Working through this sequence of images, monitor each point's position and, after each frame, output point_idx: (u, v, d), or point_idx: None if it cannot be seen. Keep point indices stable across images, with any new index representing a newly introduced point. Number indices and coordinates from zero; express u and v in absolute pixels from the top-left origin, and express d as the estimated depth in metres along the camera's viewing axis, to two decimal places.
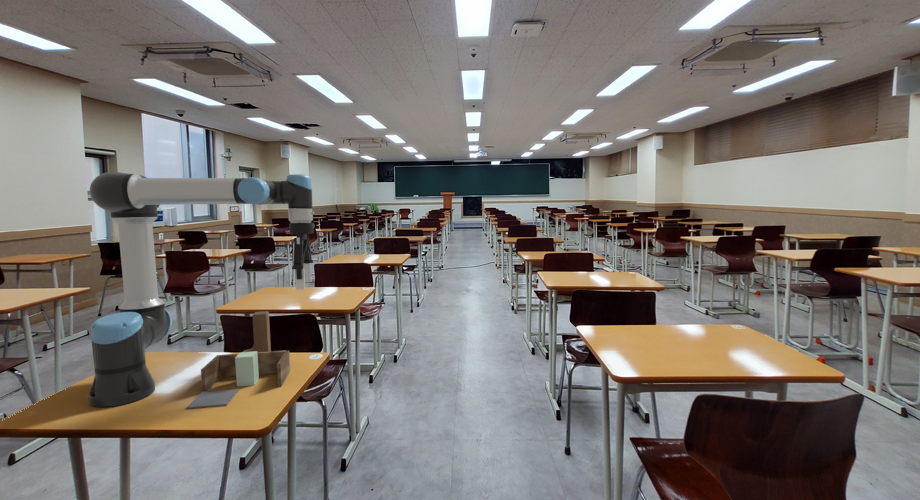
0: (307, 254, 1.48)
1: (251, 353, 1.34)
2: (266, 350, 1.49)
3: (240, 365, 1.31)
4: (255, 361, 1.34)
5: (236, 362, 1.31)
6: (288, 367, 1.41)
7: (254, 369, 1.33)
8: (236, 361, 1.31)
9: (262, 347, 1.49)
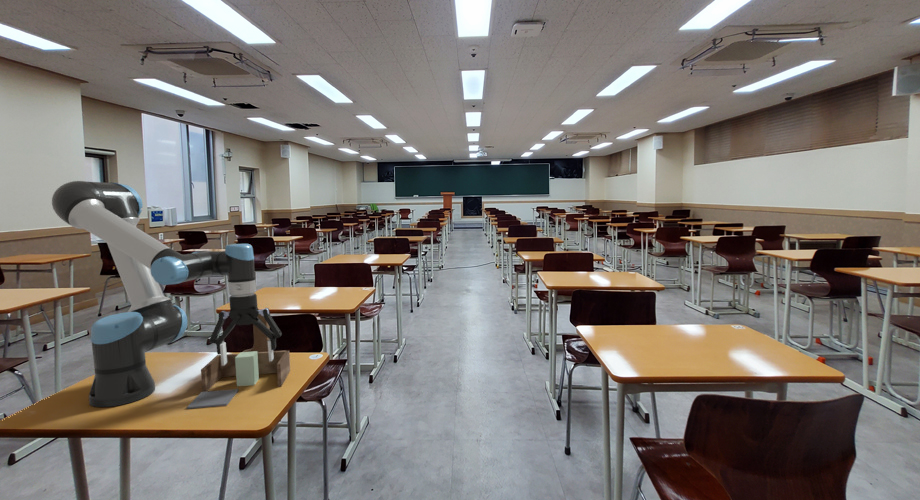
0: None
1: (251, 353, 1.34)
2: (266, 350, 1.49)
3: (240, 365, 1.31)
4: (255, 361, 1.34)
5: (236, 362, 1.31)
6: (288, 367, 1.41)
7: (254, 369, 1.33)
8: (236, 361, 1.31)
9: (262, 347, 1.49)
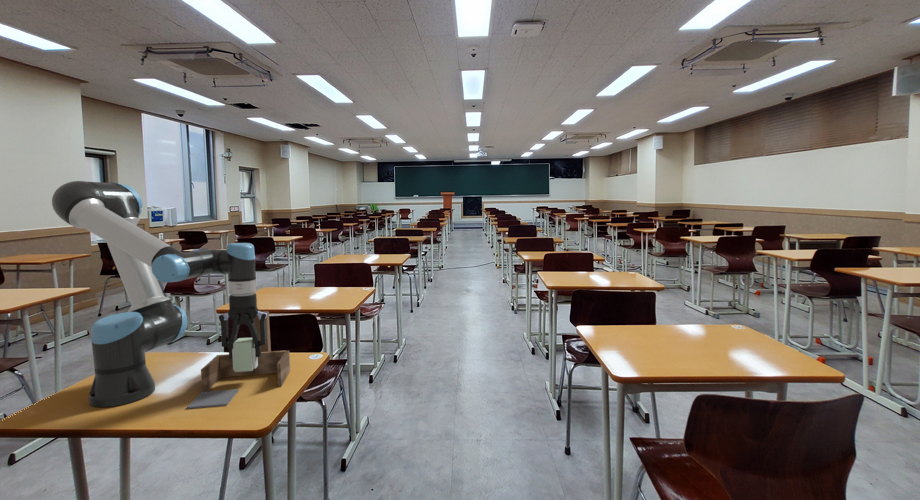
0: None
1: (249, 339, 1.34)
2: (266, 350, 1.49)
3: (238, 351, 1.31)
4: None
5: (234, 348, 1.30)
6: (288, 367, 1.41)
7: (252, 355, 1.33)
8: (234, 347, 1.30)
9: (262, 347, 1.48)
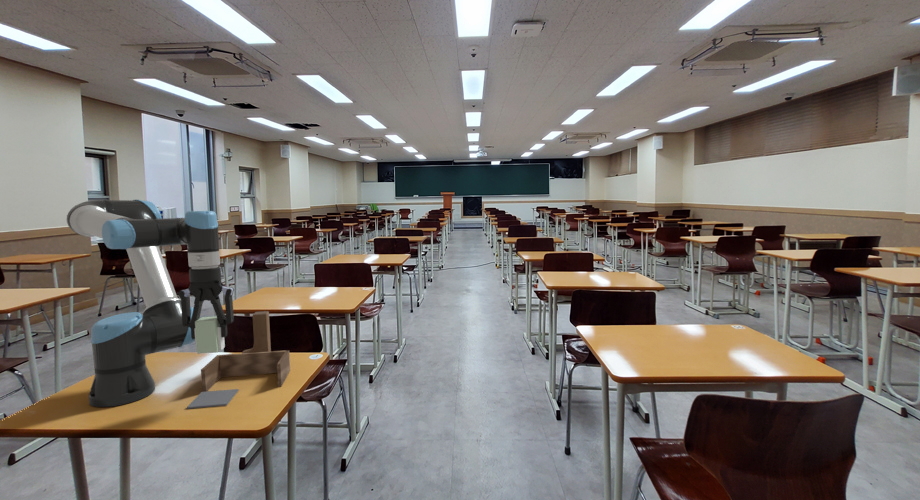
0: None
1: (214, 317, 1.21)
2: (266, 350, 1.49)
3: (200, 330, 1.18)
4: None
5: (196, 327, 1.18)
6: (288, 367, 1.41)
7: (217, 335, 1.20)
8: (196, 325, 1.18)
9: (262, 347, 1.49)
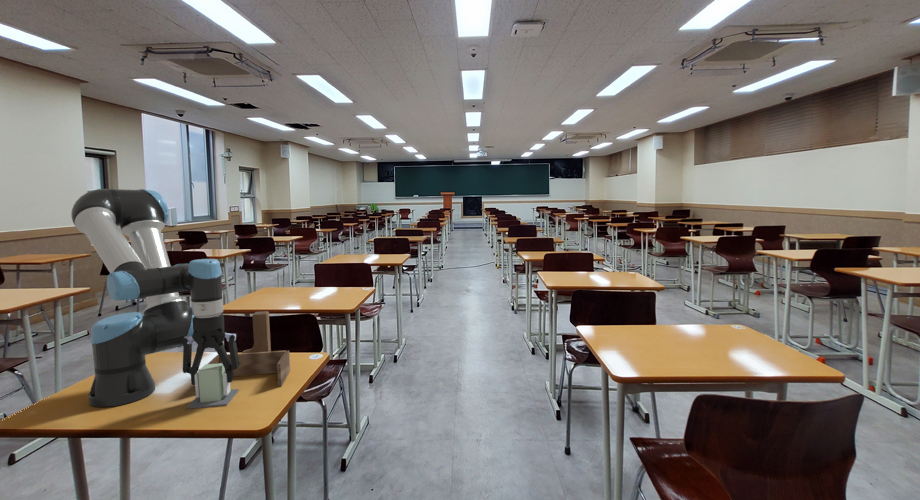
0: None
1: (217, 365, 1.22)
2: (266, 350, 1.49)
3: (203, 379, 1.19)
4: (221, 374, 1.22)
5: (199, 376, 1.19)
6: (288, 367, 1.41)
7: (220, 383, 1.21)
8: (199, 374, 1.19)
9: (262, 347, 1.49)
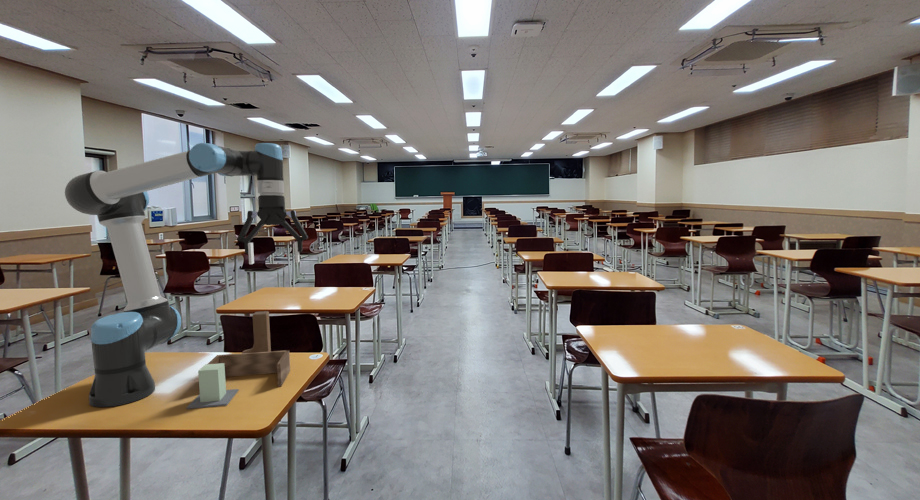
0: None
1: (217, 365, 1.22)
2: (266, 350, 1.49)
3: (203, 379, 1.19)
4: (221, 374, 1.22)
5: (199, 376, 1.19)
6: (288, 367, 1.41)
7: (220, 383, 1.21)
8: (199, 374, 1.19)
9: (262, 347, 1.49)
